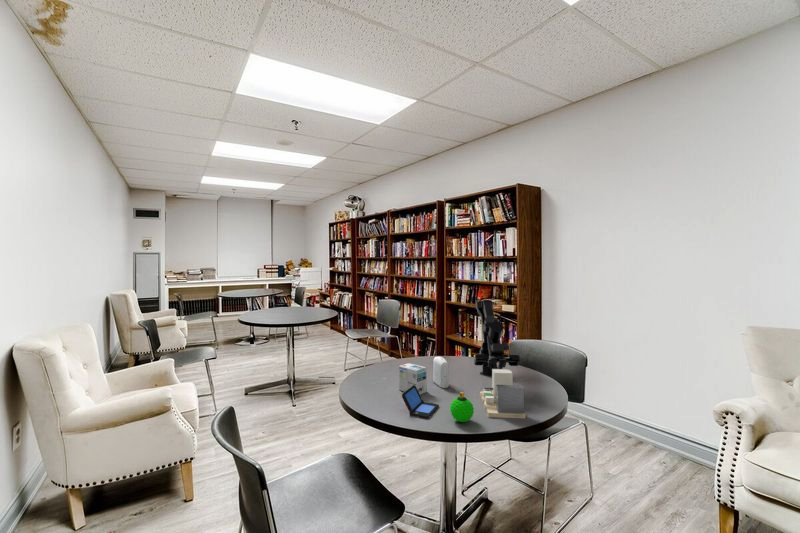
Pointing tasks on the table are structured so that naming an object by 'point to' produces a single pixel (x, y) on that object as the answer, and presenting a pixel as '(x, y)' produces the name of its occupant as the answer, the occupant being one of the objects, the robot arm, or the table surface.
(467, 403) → the ornament
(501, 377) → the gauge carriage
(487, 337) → the robot arm
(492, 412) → the base
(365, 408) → the table surface
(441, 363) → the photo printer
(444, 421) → the table surface
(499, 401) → the grey square block
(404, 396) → the handheld game console
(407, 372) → the light bulb box
